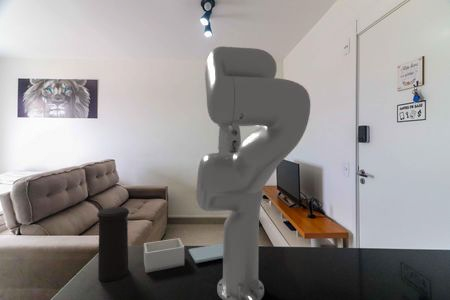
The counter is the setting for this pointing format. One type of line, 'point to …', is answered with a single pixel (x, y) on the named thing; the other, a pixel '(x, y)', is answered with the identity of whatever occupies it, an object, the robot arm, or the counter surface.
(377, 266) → the counter surface
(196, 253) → the lid
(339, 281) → the counter surface
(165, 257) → the tub
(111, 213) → the container
